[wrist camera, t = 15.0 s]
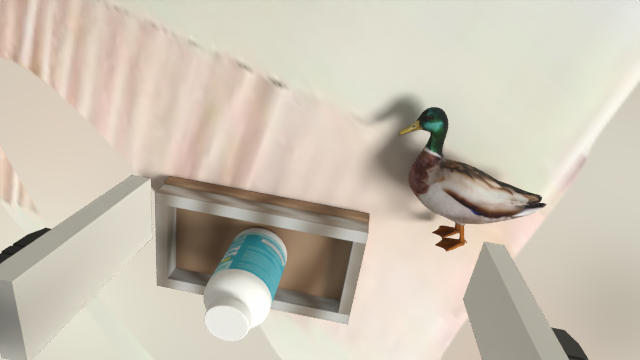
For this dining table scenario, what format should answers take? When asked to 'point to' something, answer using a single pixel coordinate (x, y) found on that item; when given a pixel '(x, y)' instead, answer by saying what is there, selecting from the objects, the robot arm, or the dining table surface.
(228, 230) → the grey rimmed shallow tray
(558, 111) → the dining table surface
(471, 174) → the decorative duck model
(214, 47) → the dining table surface
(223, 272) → the pill bottle
